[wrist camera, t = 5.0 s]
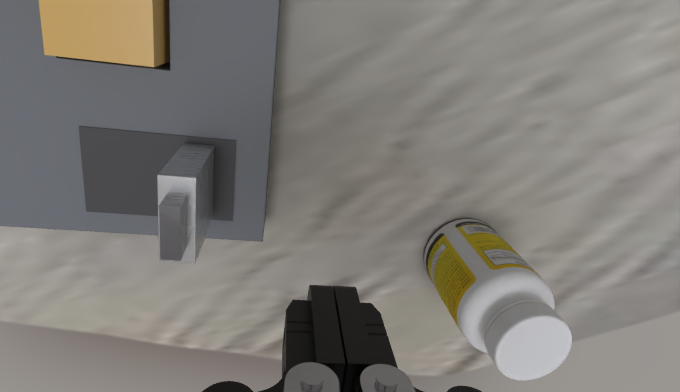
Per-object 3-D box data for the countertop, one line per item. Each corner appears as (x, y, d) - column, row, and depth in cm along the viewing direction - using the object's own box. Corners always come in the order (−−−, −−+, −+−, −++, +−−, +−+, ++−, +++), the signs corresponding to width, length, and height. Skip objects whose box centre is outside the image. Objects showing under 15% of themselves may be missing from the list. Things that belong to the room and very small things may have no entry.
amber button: (76, -50, 21) (31, -64, 17) (174, -35, 22) (151, -46, 18) (83, 48, 23) (44, 54, 19) (175, 59, 23) (153, 67, 20)
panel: (-69, -264, 18) (-134, -315, 16) (293, -190, 21) (294, -224, 18) (5, 202, 26) (-30, 225, 23) (265, 219, 28) (262, 242, 25)
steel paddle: (184, 142, 22) (148, 185, 17) (214, 145, 23) (189, 188, 17) (184, 214, 24) (151, 276, 18) (212, 216, 24) (189, 278, 18)
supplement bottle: (440, 297, 32) (501, 408, 23) (409, 240, 30) (463, 336, 21) (508, 263, 31) (598, 361, 22) (482, 202, 29) (569, 284, 20)
